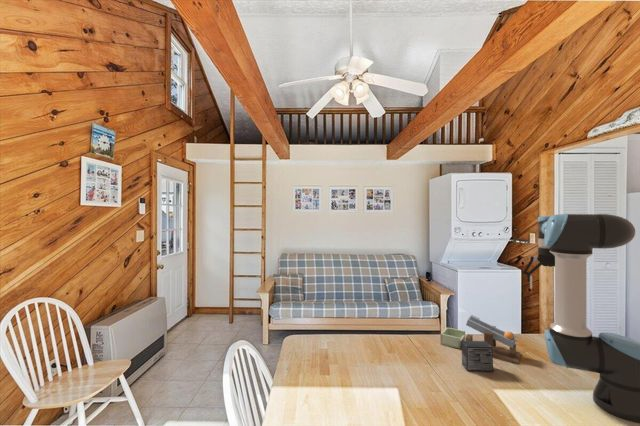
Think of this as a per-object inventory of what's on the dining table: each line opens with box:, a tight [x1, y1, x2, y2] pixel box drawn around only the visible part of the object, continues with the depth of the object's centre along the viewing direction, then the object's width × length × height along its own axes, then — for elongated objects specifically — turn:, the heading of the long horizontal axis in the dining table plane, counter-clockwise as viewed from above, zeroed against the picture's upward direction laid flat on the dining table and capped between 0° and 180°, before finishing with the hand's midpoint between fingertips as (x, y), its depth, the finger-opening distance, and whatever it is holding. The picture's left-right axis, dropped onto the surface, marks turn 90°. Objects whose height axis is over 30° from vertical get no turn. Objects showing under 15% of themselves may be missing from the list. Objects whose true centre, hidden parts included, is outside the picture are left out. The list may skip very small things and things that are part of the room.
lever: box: [466, 314, 518, 348], centre depth 145 cm, size 14×20×4 cm
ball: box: [504, 330, 515, 340], centre depth 138 cm, size 4×4×4 cm
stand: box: [460, 325, 521, 364], centre depth 143 cm, size 11×23×11 cm, turn 52°
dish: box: [440, 326, 466, 350], centre depth 153 cm, size 11×9×5 cm
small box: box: [461, 340, 494, 373], centre depth 128 cm, size 11×6×10 cm, turn 84°
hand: (548, 290), depth 149 cm, fingers open, 13 cm apart
